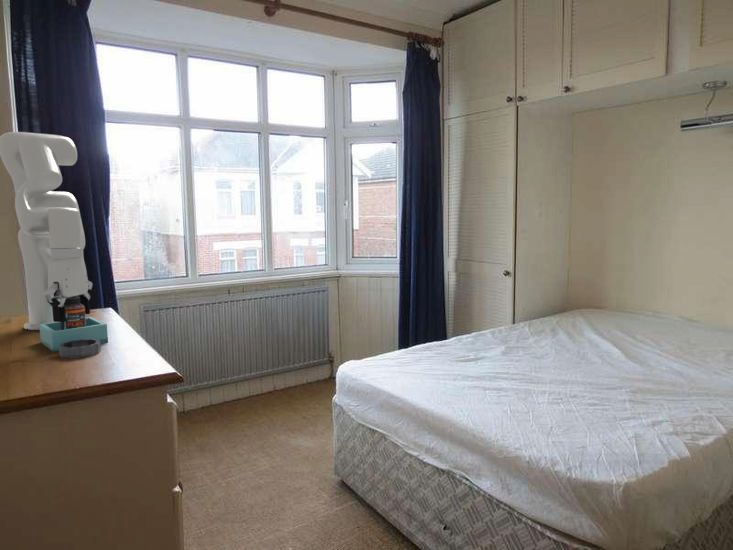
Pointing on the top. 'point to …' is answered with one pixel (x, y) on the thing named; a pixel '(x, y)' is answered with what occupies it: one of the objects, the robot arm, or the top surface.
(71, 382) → the top surface
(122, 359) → the top surface
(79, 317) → the supplement bottle
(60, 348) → the collar
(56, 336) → the bin
